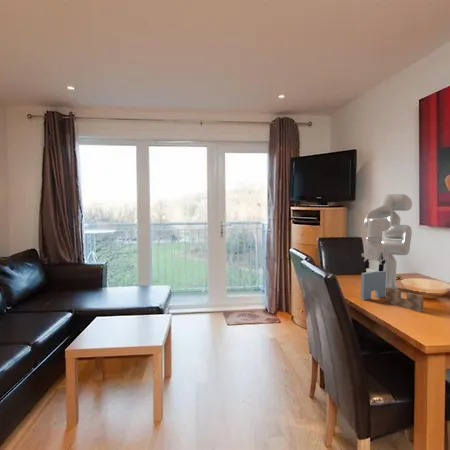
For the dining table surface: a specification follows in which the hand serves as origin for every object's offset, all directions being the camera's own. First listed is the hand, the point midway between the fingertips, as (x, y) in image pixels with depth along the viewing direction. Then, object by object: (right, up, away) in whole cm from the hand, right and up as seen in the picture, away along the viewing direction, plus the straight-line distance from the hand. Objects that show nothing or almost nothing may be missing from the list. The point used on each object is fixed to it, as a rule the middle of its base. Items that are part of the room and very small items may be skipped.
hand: (373, 269), depth 194 cm
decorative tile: (+31, -14, +59) cm, 68 cm away
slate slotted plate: (0, -16, +1) cm, 16 cm away
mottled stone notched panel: (+9, -17, -16) cm, 25 cm away
